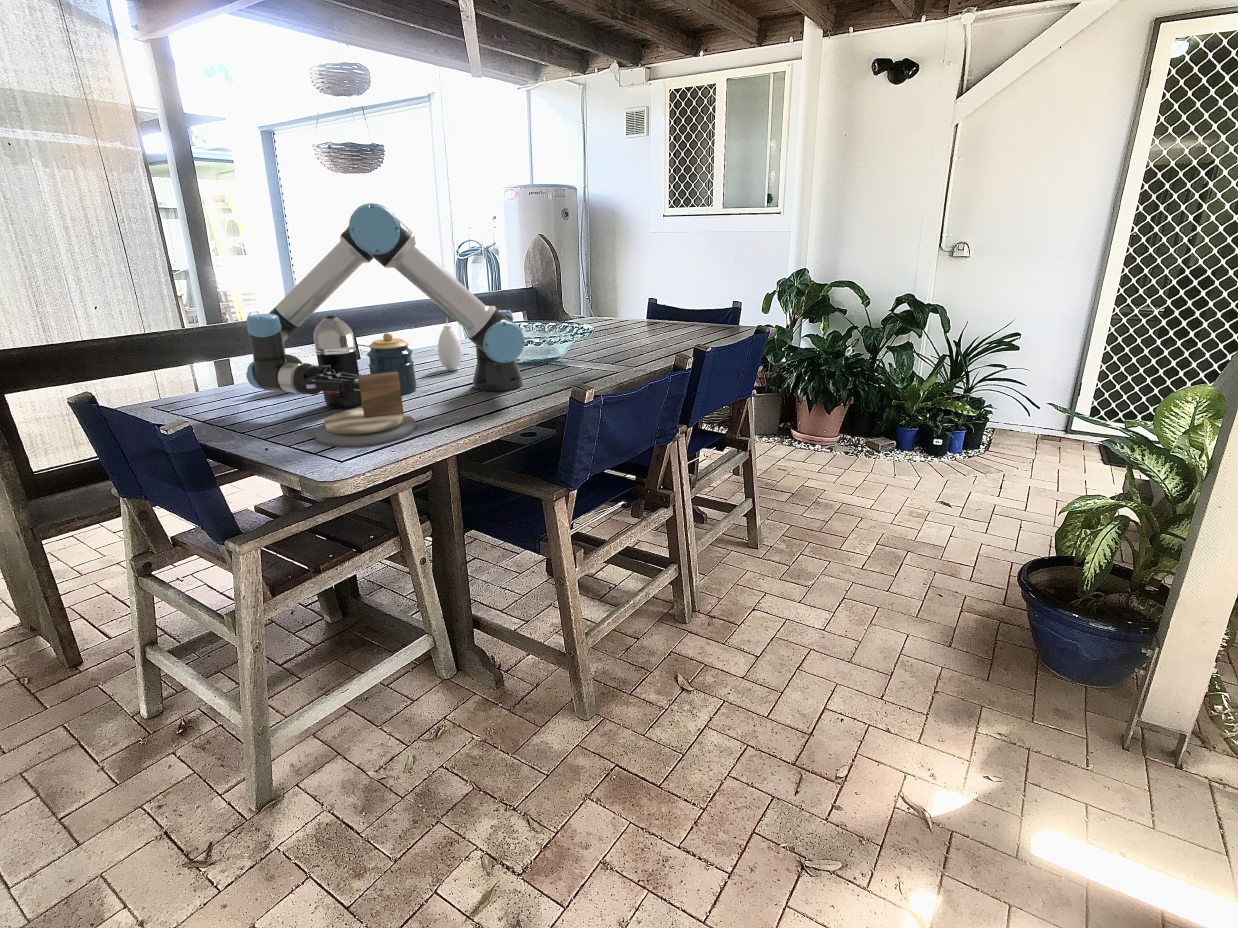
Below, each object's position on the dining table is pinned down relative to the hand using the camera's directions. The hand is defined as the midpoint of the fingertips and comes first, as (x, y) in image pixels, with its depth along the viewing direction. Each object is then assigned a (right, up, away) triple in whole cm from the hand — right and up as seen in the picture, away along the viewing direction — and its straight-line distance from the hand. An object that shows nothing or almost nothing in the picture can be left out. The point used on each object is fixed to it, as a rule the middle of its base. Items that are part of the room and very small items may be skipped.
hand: (379, 386), depth 158 cm
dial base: (-3, -11, 0) cm, 12 cm away
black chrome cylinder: (-19, -3, +24) cm, 30 cm away
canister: (-10, +3, +39) cm, 40 cm away
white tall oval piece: (+1, +13, +67) cm, 68 cm away
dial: (-3, -9, -1) cm, 10 cm away
